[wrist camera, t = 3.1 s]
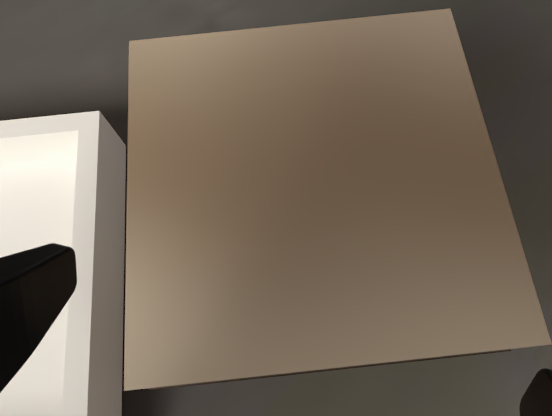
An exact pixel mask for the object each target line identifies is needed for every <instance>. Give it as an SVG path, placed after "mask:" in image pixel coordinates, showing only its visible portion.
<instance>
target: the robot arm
mask: <svg viewBox="0 0 552 416" xmlns="http://www.w3.org/2000/svg"><path fill="white" fill-rule="evenodd" d="M76 285H77V270H76V256H75V251H74V250H73V249H72V248H71V247H68V246H65V245H61V244H57V243H50V244H47V245H43V246H40V247H36V248H33V249H29V250H25V251H22V252H18V253H15V254H11V255H8V256H4V257H1V258H0V393H1V392H2V390H3V389H4V388H5V387H6V386H7V384H8V383H9V382H10V381H11V379H12V378H13V377H14V376H15V375H16V373H17V372H18V371H19V370H20V369H21V367H22V366H23V365H24V364H25V362H26V361H27V360H28V359H29V357H30V356H31V355H32V353H33V352H34V350H35V349H36V348H37V346H38V345H39V343H40V342H41V340H42V339H43V337H44V336H45V334H46V333H47V332H48V330H49V329H50V327H51V326H52V324H53V323H54V321H55V320H56V318H57V317H58V315H59V314H60V312H61V311H62V309H63V308H64V306H65V305H66V303H67V302H68V300H69V299H70V297H71V296H72V294H73V293H74V291H75V288H76ZM520 416H552V370H550V369H541V370H540V371H538V373H537V374H536V375H535V377H534V379H533V380H532V382H531V384H530V385H529V387H528V389H527V390H526V392H525V394H524V395H523V397H522V399H521V402H520Z"/></svg>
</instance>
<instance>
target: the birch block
mask: <svg viewBox="0 0 552 416" xmlns="http://www.w3.org/2000/svg"><path fill="white" fill-rule="evenodd" d="M543 345H552V343H551V340H550V336H549V333H548V330H547V327H546V323H545V320H544V317H543V313H542V310H541V307H540V303H539V300H538V297H537V293H536V290H535V287H534V283H533V280H532V277H531V274H530V270H529V267H528V264H527V260H526V257H525V254H524V250H523V247H522V244H521V240H520V237H519V234H518V231H517V227H516V224H515V221H514V217H513V214H512V211H511V207H510V204H509V201H508V197H507V194H506V191H505V187H504V184H503V181H502V178H501V174H500V171H499V168H498V164H497V161H496V158H495V154H494V151H493V148H492V144H491V141H490V138H489V135H488V131H487V128H486V125H485V121H484V118H483V115H482V111H481V108H480V105H479V101H478V98H477V95H476V91H475V88H474V85H473V82H472V78H471V75H470V72H469V68H468V65H467V62H466V58H465V55H464V52H463V48H462V45H461V42H460V39H459V35H458V32H457V29H456V25H455V22H454V19H453V15H452V12H451V9H441V10H431V11H421V12H411V13H402V14H392V15H382V16H372V17H362V18H352V19H342V20H333V21H323V22H313V23H303V24H293V25H283V26H273V27H264V28H254V29H244V30H234V31H224V32H214V33H204V34H195V35H185V36H175V37H165V38H155V39H145V40H136V41H129V88H128V153H127V219H126V284H125V350H124V391H127V390H137V389H146V388H149V390H155V389H164V388H173V387H182V386H192V385H201V384H210V383H219V382H228V381H238V380H247V379H256V378H265V377H275V376H284V375H293V374H302V373H311V372H321V371H330V370H339V369H348V368H358V367H367V366H376V365H385V364H394V363H404V362H413V361H422V360H431V359H441V358H450V357H459V356H468V355H477V354H487V353H496V352H505V351H511V349H515V348H524V347H533V346H543Z"/></svg>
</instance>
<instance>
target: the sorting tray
mask: <svg viewBox="0 0 552 416" xmlns="http://www.w3.org/2000/svg"><path fill="white" fill-rule="evenodd" d="M125 178H126V145H125V144H124V142H123V141H122V140H121V138H120V137H119V136H118V135H117V133H116V132H115V131H114V129H113V128H112V127H111V125H110V124H109V123H108V121H107V120H106V119H105V117H104V116H103V115H102V113H101V112H100V111H92V112H82V113H72V114H63V115H53V116H43V117H33V118H23V119H14V120H4V121H0V258H1V257H4V256H8V255H11V254H15V253H18V252H22V251H25V250H29V249H33V248H36V247H40V246H43V245H47V244H50V243H57V244H61V245H65V246H68V247H71V248H72V249H73V250H74V251H75V256H76V270H77V285H76V288H75V291H74V293H73V294H72V296H71V297H70V299H69V300H68V302H67V303H66V305H65V306H64V308H63V309H62V311H61V312H60V314H59V315H58V317H57V318H56V320H55V321H54V323H53V324H52V326H51V327H50V329H49V330H48V332H47V333H46V334H45V336H44V337H43V339H42V340H41V342H40V343H39V345H38V346H37V348H36V349H35V350H34V352H33V353H32V355H31V356H30V357H29V359H28V360H27V361H26V362H25V364H24V365H23V366H22V367H21V369H20V370H19V371H18V372H17V373H16V375H15V376H14V377H13V378H12V379H11V381H10V382H9V383H8V384H7V386H6V387H5V388H4V389H3V390H2V392H1V393H0V416H122V360H123V299H124V239H125Z"/></svg>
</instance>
